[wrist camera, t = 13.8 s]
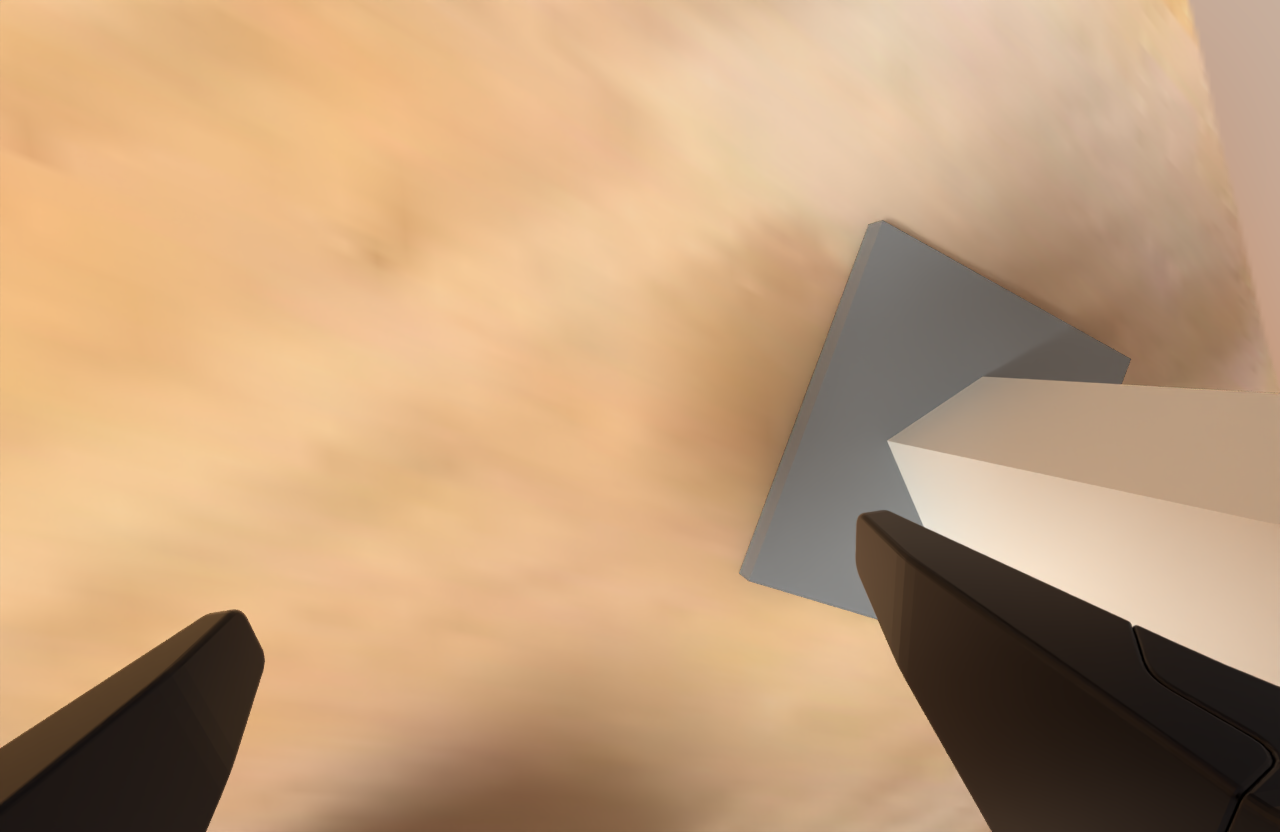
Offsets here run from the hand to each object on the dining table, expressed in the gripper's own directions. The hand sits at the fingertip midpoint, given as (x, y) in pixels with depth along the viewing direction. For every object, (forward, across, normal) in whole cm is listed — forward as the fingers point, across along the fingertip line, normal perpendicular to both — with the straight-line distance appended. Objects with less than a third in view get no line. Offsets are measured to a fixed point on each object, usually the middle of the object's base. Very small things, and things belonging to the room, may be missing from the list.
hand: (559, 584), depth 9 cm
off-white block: (+13, -14, +8) cm, 21 cm away
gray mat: (+14, -14, +8) cm, 21 cm away
